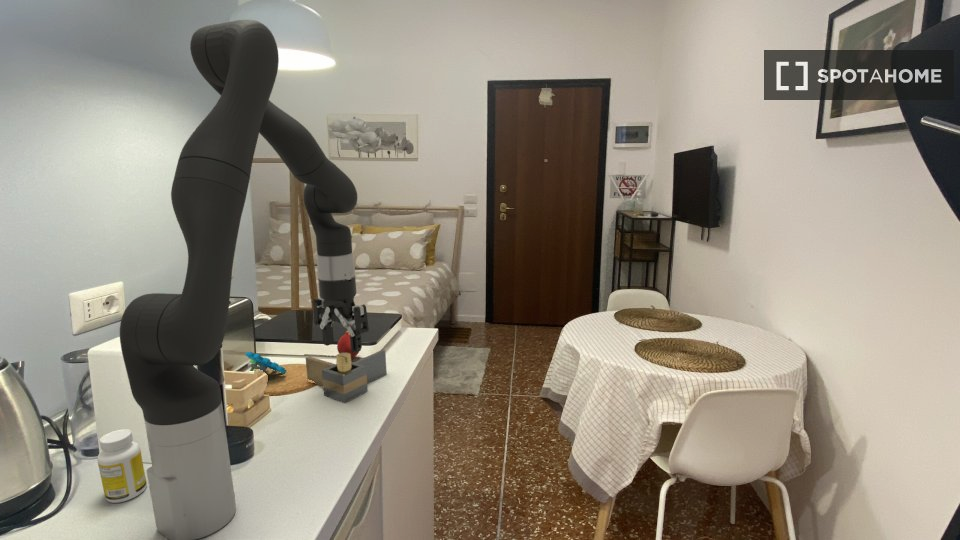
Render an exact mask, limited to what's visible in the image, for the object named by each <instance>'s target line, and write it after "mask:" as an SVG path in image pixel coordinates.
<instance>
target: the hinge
mask: <svg viewBox="0 0 960 540" xmlns="http://www.w3.org/2000/svg"><path fill="white" fill-rule="evenodd" d="M386 355H387V354H386V350H385V349H381V350H379V351H376V352H374V353H372V354H370V355H368V356H366V357H363V358H360V359H359V360H356V361H354V362H353V361H351V366H352V370H351V371H349V372H346V373H344V374H342V373H338V370H337V363H333V362H329V361H327V360H322V359H319V358H316V357H313V356H307V357H305V368H306V376H307V377H306V378H307V380H308V379H309V380H312V381H314V382H315V383H316V384H317V385H316V386H318V387H321V386H322V387H321V388H322V389H323V396H324V397H325V398H326V397H327V398H330V399H332V400H335V401H338V402H340V403H344V404H346V403H348V402H350V401H352V400H353V399H355V398H357V397H359V396H361V395H364V394H365V393H367V392H369V390H368V385H369V384H370V383H373V382H375V381H376V380H379V379H380V378H382V377H384V376H386V375H387V357H386Z"/></svg>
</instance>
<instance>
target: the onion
mask: <svg viewBox="0 0 960 540" xmlns="http://www.w3.org/2000/svg"><path fill="white" fill-rule="evenodd" d="M350 336H351V335H350V333H349V331H348V330H346V331H345V334H343V335H342V336H341V337H340V338H339V340H338V342H337V344H336V345H337V346H336V348H337V352H338V354H340V353H350V354H351V361H352V360H353V359H355V357H356V356H357V355H358V354H359V353H360V351H359V352H357V353H352V352H351V344H350Z"/></svg>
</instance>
